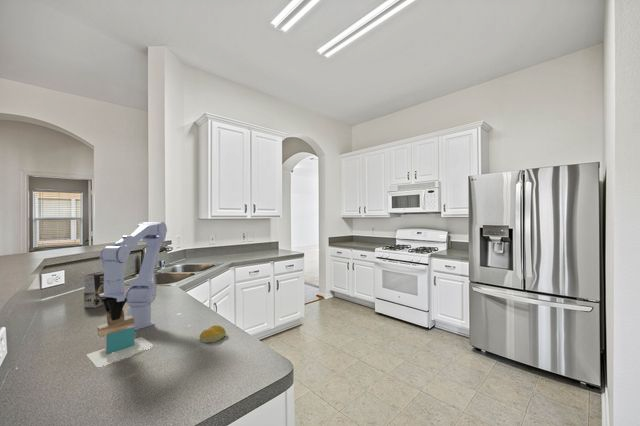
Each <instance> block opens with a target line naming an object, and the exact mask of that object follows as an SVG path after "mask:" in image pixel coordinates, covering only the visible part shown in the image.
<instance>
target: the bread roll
mask: <svg viewBox="0 0 640 426" xmlns="http://www.w3.org/2000/svg"><path fill="white" fill-rule="evenodd" d="M226 334H227V331H226V329H225V328H224V327H223V326H221V325H217V324H216V325H215V324H214V325H212V326H210V327H208V329H205V330H203V331H201V333H200V335H199V340H200V341H201V342H202V343H205V342H212V343H215V342H214V341H217V340H219V341H221V340H222V339H224V338H223V337H224V336H225V337H226ZM221 338H222V339H221ZM220 339H221V340H220ZM217 342H218V341H217Z"/></svg>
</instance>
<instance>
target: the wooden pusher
mask: <svg viewBox="0 0 640 426" xmlns="http://www.w3.org/2000/svg"><path fill="white" fill-rule="evenodd" d="M105 313H106V314H105V315H106V323H104V324H101V325H98V326H97V335H98V336H99V338H103V337H105V333H109V332H112V331H116V330H119V329H123V328H127V327H130V326H133V325H134V317H132V316H128V315H127V316H125V312H124V309H122V312H121V316H120V319H117V320H112V318H111V313H110V311H108V312H105Z"/></svg>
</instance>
